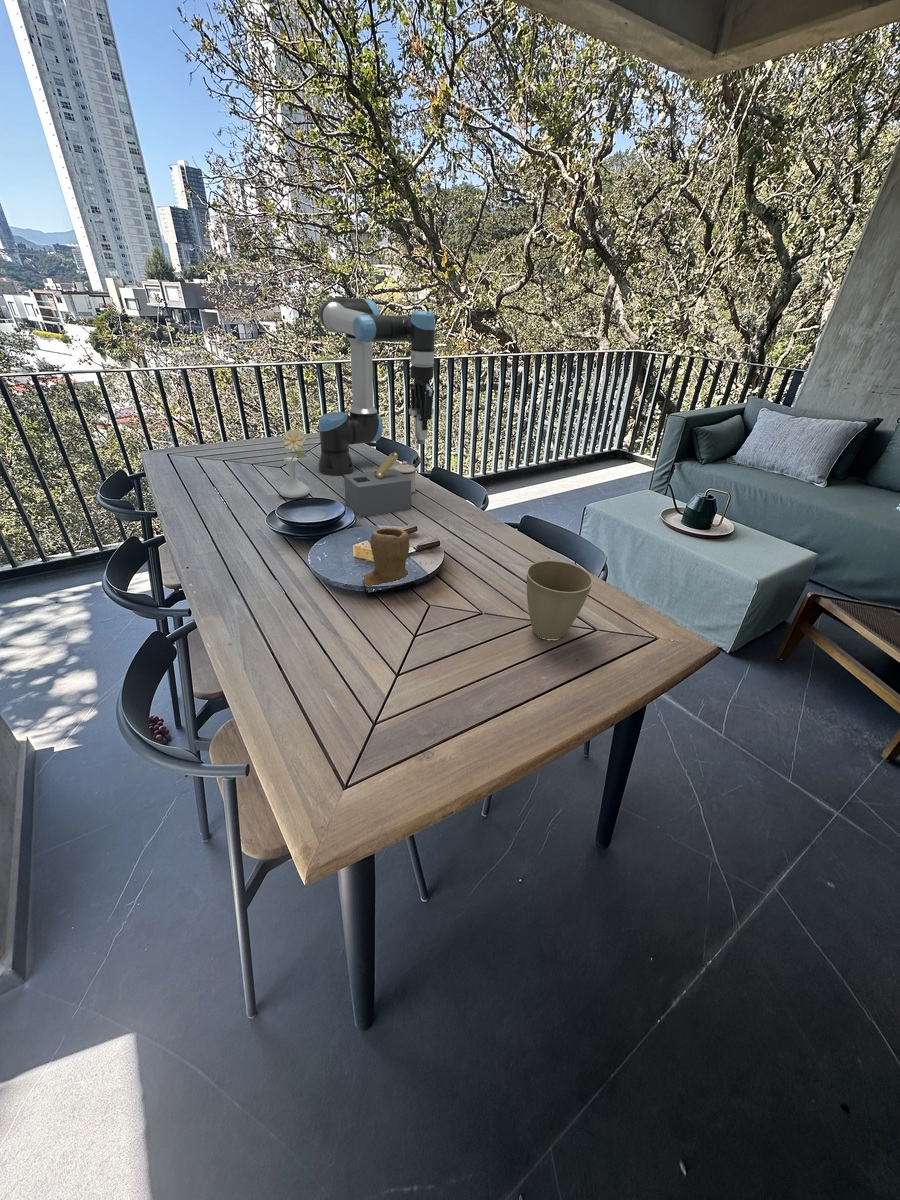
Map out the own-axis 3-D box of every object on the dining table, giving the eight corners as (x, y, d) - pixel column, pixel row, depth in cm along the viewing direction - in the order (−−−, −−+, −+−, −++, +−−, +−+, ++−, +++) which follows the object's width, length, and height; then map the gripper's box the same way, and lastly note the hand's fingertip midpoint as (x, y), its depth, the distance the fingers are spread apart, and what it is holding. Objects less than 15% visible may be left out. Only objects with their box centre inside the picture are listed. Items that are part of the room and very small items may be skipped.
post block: (345, 503, 185) (343, 474, 179) (394, 496, 194) (394, 468, 188) (359, 517, 175) (358, 487, 169) (410, 509, 183) (411, 480, 178)
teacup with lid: (410, 485, 205) (411, 457, 199) (419, 493, 198) (419, 464, 192) (383, 488, 201) (382, 460, 194) (390, 496, 194) (390, 466, 187)
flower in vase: (272, 497, 187) (262, 428, 173) (291, 488, 196) (283, 422, 182) (301, 503, 183) (294, 434, 169) (319, 494, 192) (313, 427, 178)
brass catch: (376, 476, 180) (373, 473, 179) (395, 453, 180) (392, 450, 178) (381, 479, 177) (378, 477, 176) (400, 456, 176) (397, 453, 175)
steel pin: (408, 443, 176) (408, 408, 170) (428, 441, 180) (429, 407, 174) (412, 445, 174) (412, 410, 168) (432, 443, 178) (433, 409, 172)
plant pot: (566, 659, 113) (579, 599, 104) (507, 636, 119) (515, 578, 111) (588, 628, 124) (601, 572, 115) (533, 608, 130) (542, 554, 121)
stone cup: (402, 567, 145) (403, 519, 137) (420, 586, 137) (422, 536, 129) (353, 578, 139) (350, 528, 131) (368, 598, 130) (366, 546, 122)
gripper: (401, 362, 168) (401, 433, 180) (423, 369, 156) (421, 444, 169) (421, 361, 171) (419, 431, 183) (444, 368, 159) (441, 442, 172)
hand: (420, 437), depth 176 cm, fingers closed on steel pin, 3 cm apart
